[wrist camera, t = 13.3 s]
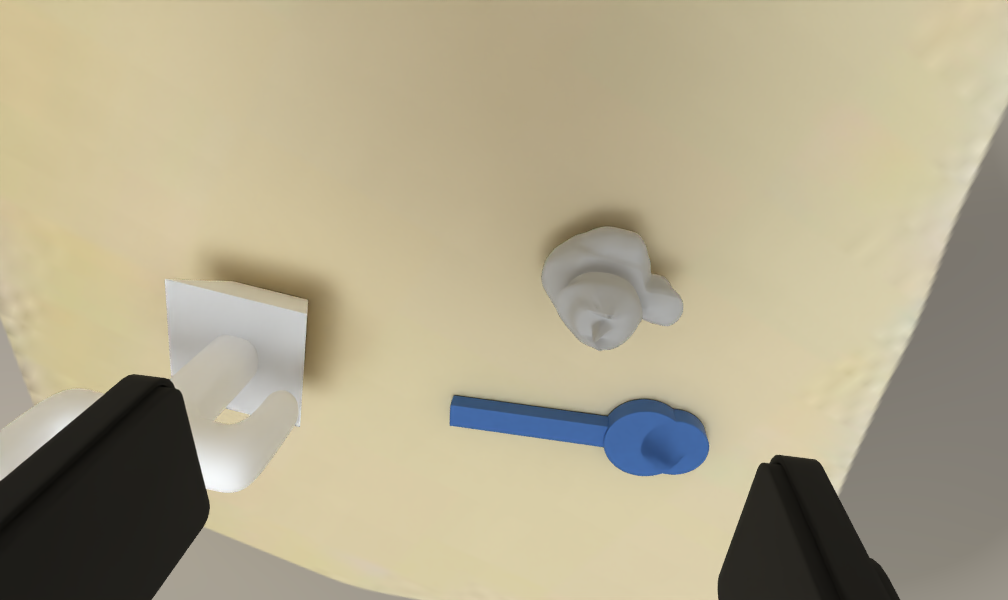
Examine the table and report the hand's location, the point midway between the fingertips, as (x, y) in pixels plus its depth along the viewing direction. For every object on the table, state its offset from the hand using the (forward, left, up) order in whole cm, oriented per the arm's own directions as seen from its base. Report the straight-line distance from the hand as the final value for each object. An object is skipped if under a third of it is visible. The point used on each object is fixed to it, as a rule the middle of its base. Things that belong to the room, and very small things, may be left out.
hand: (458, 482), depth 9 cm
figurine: (+10, -14, -21) cm, 27 cm away
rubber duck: (+4, +4, -21) cm, 21 cm away
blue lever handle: (+14, +4, -20) cm, 25 cm away
